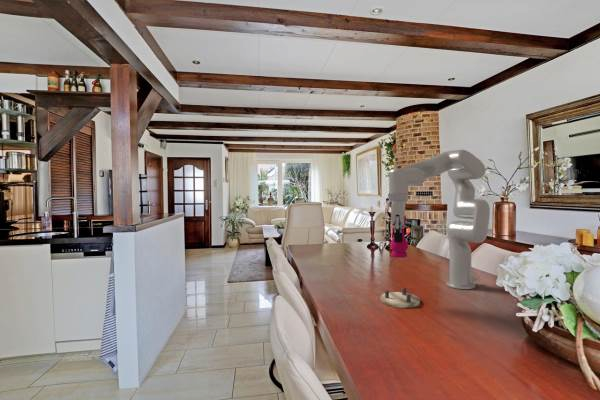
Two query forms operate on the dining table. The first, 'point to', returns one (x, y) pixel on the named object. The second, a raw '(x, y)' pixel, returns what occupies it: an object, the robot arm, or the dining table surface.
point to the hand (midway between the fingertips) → (399, 240)
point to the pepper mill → (399, 244)
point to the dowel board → (400, 299)
